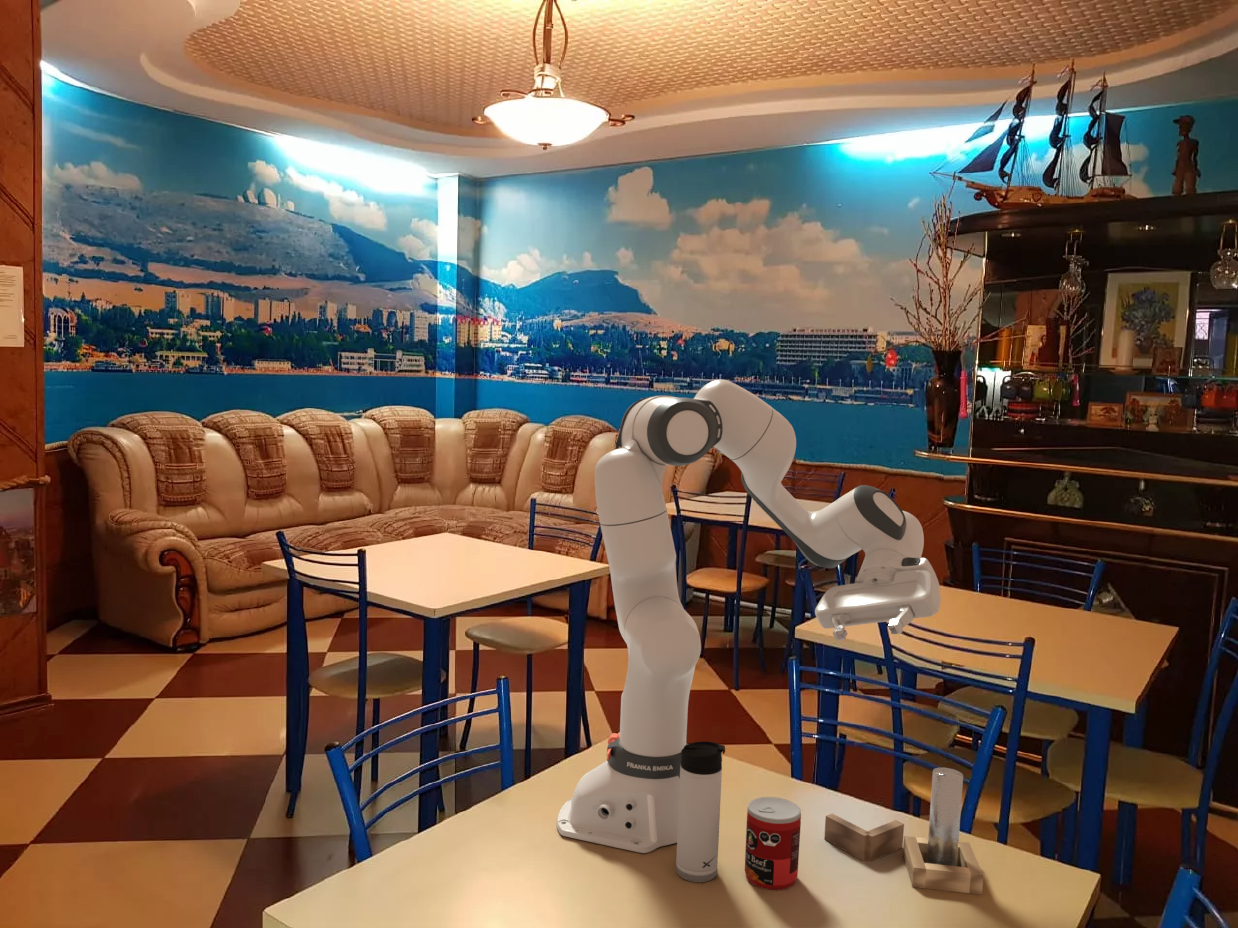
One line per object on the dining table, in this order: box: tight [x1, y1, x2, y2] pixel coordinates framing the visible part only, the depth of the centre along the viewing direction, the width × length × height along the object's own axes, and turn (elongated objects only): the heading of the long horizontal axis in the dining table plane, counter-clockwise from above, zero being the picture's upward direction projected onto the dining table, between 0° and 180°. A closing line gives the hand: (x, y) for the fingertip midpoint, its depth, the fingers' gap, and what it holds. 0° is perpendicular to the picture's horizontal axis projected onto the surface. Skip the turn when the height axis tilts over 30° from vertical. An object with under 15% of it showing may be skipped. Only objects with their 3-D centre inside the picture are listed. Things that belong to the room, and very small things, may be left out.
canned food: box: [744, 796, 802, 891], centre depth 141 cm, size 8×8×11 cm
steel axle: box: [926, 767, 964, 867], centre depth 144 cm, size 4×4×16 cm
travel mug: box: [675, 740, 726, 883], centre depth 142 cm, size 6×7×20 cm
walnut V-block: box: [824, 813, 905, 862], centre depth 151 cm, size 12×7×4 cm, turn 81°
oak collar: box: [902, 835, 984, 896], centre depth 145 cm, size 10×10×3 cm
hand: (866, 633), depth 148 cm, fingers open, 8 cm apart
